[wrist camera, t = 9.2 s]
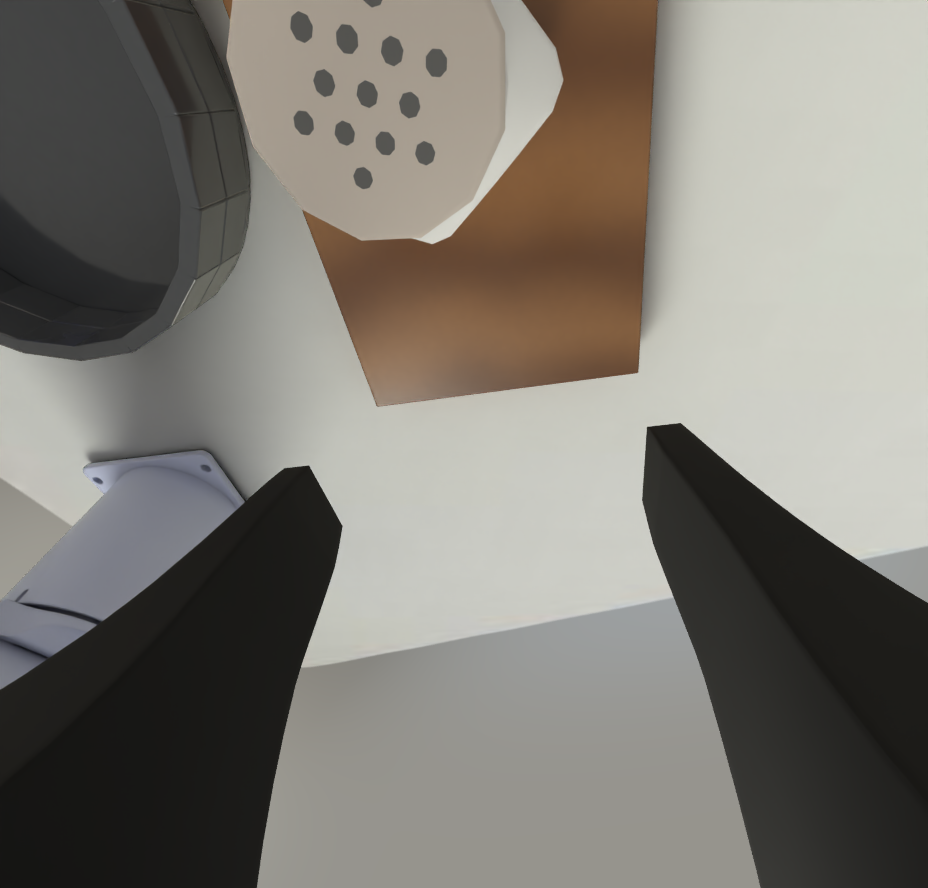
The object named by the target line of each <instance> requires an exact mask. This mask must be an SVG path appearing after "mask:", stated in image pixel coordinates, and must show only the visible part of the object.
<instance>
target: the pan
mask: <svg viewBox="0 0 928 888" xmlns="http://www.w3.org/2000/svg"><path fill="white" fill-rule="evenodd" d="M249 207H250V180H249V166H248V159H247V153H246V146H245V140H244V135H243V131H242V127H241V123H240V119H239V116H238V112H237V108H236V104H235V101H234V98H233V95H232V92H231V90H230V87H229V84H228V81H227V78H226V76H225V73H224V70H223V67H222V64H221V62H220V60H219V58H218V56H217V54H216V51H215V49H214V47H213V45H212V43H211V40H210V38H209V36H208V34H207V32H206V30H205V27H204V25H203V23H202V22H201V20H200V18H199V16H198V14H197V13H196V11H195V9H194V7H193V5H192V4H191V2H190V0H0V345H3V346H6V347H8V348H11V349H14V350H16V351H19V352H22V353H27V354H34V355H42V356H49V357H56V358H63V359H70V360H78V361H85V360H91V359H97V358H103V357H109V356H115V355H121V354H127V353H133V352H134V351H137V350H138V349H140V348H141V347H143V346H144V345H146V344H147V343H148V342H150V341H151V340H153V339H154V338H156V337H157V336H159V335H160V334H162V333H163V332H165V331H166V330H167V329H169V328H170V327H172V326H173V325H175V324H176V323H177V322H179V321H180V320H182V319H183V318H184V317H186V316H187V315H188V314H190V313H191V312H193V311H194V310H195V309H197V308H198V307H199V306H201V305H202V304H204V303H205V302H206V301H208V300H209V299H211V298H212V297H213V296H215V295H216V293H218V291H219V289H220V288H221V286H222V285H223V284H224V283H225V281H226V280H227V278H228V277H229V275H230V273H231V272H232V270H233V269H234V267H235V265H236V262H237V260H238V258H239V255H240V253H241V250H242V248H243V244H244V240H245V235H246V231H247V227H248V219H249Z"/></svg>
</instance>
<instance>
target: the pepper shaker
mask: <svg viewBox="0 0 928 888" xmlns="http://www.w3.org/2000/svg"><path fill="white" fill-rule="evenodd" d="M226 59H227V62H228V65H229V69H230V72H231V75H232V79H233V82H234V85H235V89H236V92H237V96H238V99H239V102H240V106H241V109H242V112H243V116H244V119H245V122H246V126H247V129H248V132H249V136H250V139H251V142H252V146H253V148H254V149H255V150H256V151H257V153H258V154H259V155H260V156H261V158H262V159H263V160H264V162H265V163H266V164H267V165H268V167H269V168H270V169H271V171H272V172H273V173H274V174H275V176H276V177H277V178H278V179H279V181H280V182H281V183H282V185H283V186H284V187H285V188H286V190H287V191H288V192H289V194H290V195H291V196H292V197H293V199H294V200H295V201H296V202H297V204H298V205H299V206H300V208H301V209H302V210H304V211H306V212H308V213H309V214H311V215H313V216H315V217H317V218H319V219H321V220H323V221H325V222H327V223H329V224H331V225H332V226H334V227H336V228H338V229H340V230H342V231H344V232H346V233H348V234H350V235H352V236H354V237H356V238H357V239H359V240H361V241H364V240H385V239H406V238H412V239H416V240H419V241H423V242H426V243H430V244H434V243H436V242H439V241H441V240H443V239H446V238H448V237H450V236H451V235H452V234H453V233H454V232H455V231H456V230H457V228H458V227H459V226H460V225H461V224H462V223H463V221H464V220H465V219H466V218H467V217H468V216H469V214H470V213H471V212H472V211H473V210H474V209H475V207H476V206H477V205H478V204H479V203H480V201H481V200H482V199H483V198H484V197H485V195H486V194H487V193H488V192H489V190H490V189H491V188H492V187H493V186H494V184H495V183H496V182H497V181H498V180H499V178H500V177H501V176H502V175H503V173H504V172H505V171H506V170H507V168H508V167H509V166H510V165H511V164H512V162H513V161H514V160H515V159H516V157H517V156H518V155H519V154H520V152H521V151H522V150H523V149H524V147H525V146H526V145H527V144H528V142H529V141H530V140H531V138H532V137H533V136H534V135H535V133H536V132H537V131H538V129H539V128H540V127H541V126H542V124H543V123H544V122H545V121H546V119H547V118H548V117H549V115H550V114H551V113H552V112H553V109H554V106H555V103H556V100H557V97H558V95H559V92H560V89H561V86H562V83H563V76H562V72H561V67H560V63H559V59H558V55H557V51H556V47H555V46H554V45H553V43H552V42H551V41H550V39H549V38H548V36H547V35H546V34H545V32H544V31H543V29H542V28H541V27H540V25H539V24H538V22H537V21H536V20H535V18H534V17H533V15H532V14H531V13H530V11H529V10H528V9H527V7H526V6H525V4H524V3H523V2H522V0H232V9H231V18H230V27H229V37H228V46H227V55H226Z"/></svg>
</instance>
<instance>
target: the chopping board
mask: <svg viewBox="0 0 928 888" xmlns="http://www.w3.org/2000/svg"><path fill="white" fill-rule="evenodd" d="M522 2H523V3H524V4H525V6H526V7H527V9H528V10H529V11H530V13H531V14H532V15H533V17H534V18H535V20H536V21H537V22H538V24H539V25H540V27H541V28H542V29H543V31H544V32H545V34H546V35H547V36H548V38H549V39H550V41H551V42H552V43H553V45H554V46H555V47H556V51H557V55H558V59H559V63H560V67H561V72H562V76H563V83H562V86H561V89H560V92H559V95H558V97H557V100H556V103H555V106H554V109H553V112H552V113H551V114H550V115H549V117H548V118H547V119H546V121H545V122H544V123H543V124H542V126H541V127H540V128H539V129H538V131H537V132H536V133H535V135H534V136H533V137H532V138H531V140H530V141H529V142H528V144H527V145H526V146H525V147H524V149H523V150H522V151H521V152H520V154H519V155H518V156H517V157H516V159H515V160H514V161H513V162H512V164H511V165H510V166H509V167H508V168H507V170H506V171H505V172H504V173H503V175H502V176H501V177H500V178H499V180H498V181H497V182H496V183H495V184H494V186H493V187H492V188H491V189H490V190H489V192H488V193H487V194H486V195H485V197H484V198H483V199H482V200H481V201H480V203H479V204H478V205H477V206H476V207H475V209H474V210H473V211H472V212H471V213H470V214H469V216H468V217H467V218H466V219H465V220H464V221H463V223H462V224H461V225H460V226H459V227H458V228H457V230H456V231H455V232H454V233H453V234H452V235H451V236H450V237H448V238H446V239H443V240H441V241H439V242H436V243H434V244H430V243H426V242H423V241H419V240H416V239H412V238H406V239H385V240H364V241H361V240H359V239H357V238H356V237H354V236H352V235H350V234H348V233H346V232H344V231H342V230H340V229H338V228H336V227H334V226H332V225H331V224H329V223H327V222H325V221H323V220H321V219H319V218H317V217H315V216H313V215H311V214H309V213H308V212H306V211H304V210H303V213H304V216H305V218H306V221H307V224H308V226H309V229H310V231H311V234H312V237H313V239H314V242H315V245H316V247H317V250H318V252H319V255H320V258H321V260H322V263H323V266H324V268H325V271H326V273H327V276H328V279H329V281H330V284H331V287H332V289H333V292H334V295H335V297H336V300H337V302H338V305H339V308H340V310H341V313H342V316H343V318H344V321H345V323H346V326H347V329H348V331H349V334H350V337H351V339H352V342H353V344H354V347H355V350H356V352H357V355H358V358H359V360H360V363H361V365H362V368H363V371H364V373H365V376H366V379H367V381H368V384H369V386H370V389H371V392H372V394H373V397H374V400H375V402H376V405H377V406H378V407H379V406H387V405H394V404H402V403H410V402H417V401H425V400H433V399H441V398H448V397H456V396H464V395H471V394H479V393H487V392H495V391H502V390H510V389H518V388H525V387H533V386H541V385H549V384H556V383H564V382H572V381H579V380H587V379H595V378H603V377H610V376H618V375H626V374H633V373H638V369H639V350H640V331H641V312H642V293H643V275H644V256H645V237H646V218H647V199H648V180H649V162H650V143H651V124H652V105H653V86H654V67H655V48H656V30H657V11H658V0H522ZM223 3H224V5H225V8H226V11H227V13H228V16H229V19H230V18H231V9H232V0H223Z"/></svg>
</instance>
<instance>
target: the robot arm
mask: <svg viewBox="0 0 928 888" xmlns="http://www.w3.org/2000/svg"><path fill="white" fill-rule="evenodd" d="M83 473H84V474H85V475H86V476H87V477H88V478H89V479H90V480H91V481H92V482H93V483H94V484H95V485H96V486H97V488H98V489H99V490H100V491H101V492H102V493H103V494H104V495H103V496H102V497H101V498H100V499H99V500H98V501H97V502H96V503H95V504H94V505H93V506H92V507H91V508H90V509H89V510H88V512H87V513H86V514H85V515H84V516H83V517H82V518H81V519H80V520H79V521H78V522H77V523H76V524H75V525H74V526H73V527H72V528H71V529H70V530H69V531H68V532H67V533H66V534H65V535H64V536H63V537H62V538H61V539H60V540H59V541H58V542H57V543H56V544H55V545H54V546H53V547H52V548H51V549H50V550H49V551H48V552H47V554H45V555H44V556H43V558H42V559H41V560H40V561H39V562H38V563H37V564H36V565H35V566H34V567H33V568H32V569H31V570H30V571H29V572H28V573H27V574H26V575H25V576H24V577H23V578H22V579H21V580H20V581H19V582H18V583H17V584H16V585H15V586H14V587H13V588H12V589H11V590H10V591H9V592H8V593H7V594H6V595H5V596H4V597H3V598H2V599H1V600H0V888H257V882H258V874H259V868H260V860H261V853H262V846H263V840H264V834H265V828H266V823H267V817H268V811H269V806H270V800H271V794H272V789H273V783H274V778H275V774H276V769H277V764H278V759H279V754H280V750H281V745H282V740H283V735H284V731H285V726H286V722H287V718H288V714H289V710H290V706H291V701H292V697H293V693H294V689H295V685H296V681H297V678H298V675H299V671H300V668H301V665H302V662H303V659H304V656H305V653H306V650H307V647H308V644H309V641H310V639H311V636H312V633H313V630H314V627H315V624H316V621H317V618H318V615H319V613H320V610H321V607H322V604H323V601H324V598H325V595H326V592H327V589H328V586H329V583H330V580H331V577H332V574H333V571H334V568H335V563H336V558H337V554H338V549H339V543H340V538H341V532H342V524H341V522H340V521H339V519H338V517H337V515H336V513H335V512H334V510H333V508H332V506H331V504H330V503H329V501H328V499H327V497H326V495H325V494H324V492H323V490H322V488H321V487H320V485H319V483H318V481H317V479H316V478H315V476H314V474H313V472H312V470H311V469H310V467H309V466H301V467H293V468H284V469H283V470H282V471H280V472H279V473H278V474H277V475H275V476H274V477H273V478H272V479H270V480H269V481H268V482H267V483H266V484H265V485H264V486H262V487H261V488H260V489H259V490H258V491H257V492H256V493H254V494H253V495H252V496H251V497H250V498H249V499H248V500H247V501H246V502H245V501H244V500H243V499H242V497H241V496H240V494H239V493H238V492H237V490H236V489H235V487H234V486H233V485H232V483H231V482H230V480H229V479H228V478H227V476H226V475H225V473H224V472H223V471H222V469H221V468H220V466H219V465H218V464H217V462H216V461H215V459H214V458H213V457H212V455H211V454H210V453H208V452H206V451H203V450H197V451H188V452H180V453H172V454H163V455H155V456H147V457H139V458H130V459H122V460H114V461H105V462H97V463H90V464H87V465H86V466H85V467H84V468H83ZM642 501H643V505H644V509H645V513H646V517H647V521H648V525H649V529H650V533H651V537H652V541H653V544H654V547H655V550H656V553H657V555H658V558H659V560H660V563H661V566H662V568H663V571H664V573H665V576H666V578H667V581H668V584H669V586H670V589H671V591H672V594H673V596H674V599H675V601H676V604H677V606H678V609H679V611H680V614H681V617H682V619H683V622H684V624H685V627H686V629H687V632H688V634H689V637H690V639H691V642H692V645H693V647H694V649H695V652H696V655H697V658H698V661H699V664H700V667H701V670H702V673H703V675H704V678H705V682H706V685H707V689H708V692H709V696H710V699H711V702H712V706H713V710H714V713H715V717H716V720H717V723H718V727H719V731H720V734H721V738H722V741H723V745H724V749H725V752H726V756H727V760H728V763H729V767H730V771H731V774H732V778H733V781H734V785H735V789H736V793H737V796H738V800H739V804H740V808H741V812H742V816H743V819H744V823H745V827H746V831H747V835H748V839H749V843H750V847H751V851H752V855H753V859H754V862H755V866H756V870H757V874H758V879H759V883H760V887H761V888H928V603H927V602H925V601H924V600H922V599H920V598H918V597H917V596H915V595H913V594H912V593H910V592H908V591H907V590H905V589H904V588H902V587H900V586H899V585H897V584H895V583H894V582H892V581H891V580H889V579H887V578H886V577H884V576H883V575H881V574H879V573H878V572H876V571H874V570H873V569H871V568H870V567H868V566H867V565H865V564H863V563H862V562H860V561H859V560H857V559H855V558H854V557H852V556H851V555H849V554H848V553H846V552H845V551H843V550H842V549H840V548H839V547H837V546H836V545H834V544H833V543H831V542H830V541H829V540H827V539H826V538H824V537H823V536H821V535H820V534H819V533H817V532H816V531H814V530H813V529H812V528H810V527H809V526H807V525H806V524H805V523H803V522H802V521H800V520H799V519H798V518H796V517H795V516H794V515H792V514H791V513H790V512H788V511H787V510H786V509H784V508H783V507H782V506H780V505H779V504H778V503H776V502H775V501H774V500H772V499H771V498H770V497H769V496H767V495H766V494H765V493H764V492H762V491H761V490H760V489H759V488H757V487H756V486H755V485H753V484H752V483H751V482H750V481H748V480H747V479H746V478H745V477H743V476H742V475H741V474H740V473H739V472H737V471H736V470H735V469H734V468H733V467H731V466H730V465H729V464H728V463H727V462H725V461H724V460H723V459H722V458H721V457H720V456H718V455H717V454H716V453H715V452H714V451H713V450H711V449H710V448H709V447H708V446H707V445H706V444H704V443H703V442H702V441H701V440H700V439H699V438H697V437H696V436H695V435H694V434H693V433H692V432H691V431H689V430H688V429H687V428H686V427H685V426H683V425H682V424H681V423H678V424H669V425H660V426H652V427H647V436H646V451H645V466H644V482H643V497H642Z"/></svg>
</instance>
